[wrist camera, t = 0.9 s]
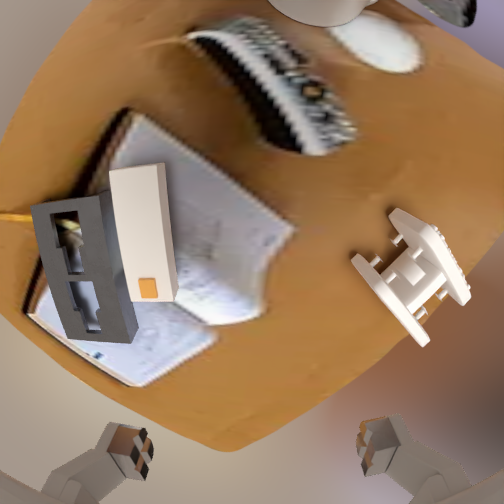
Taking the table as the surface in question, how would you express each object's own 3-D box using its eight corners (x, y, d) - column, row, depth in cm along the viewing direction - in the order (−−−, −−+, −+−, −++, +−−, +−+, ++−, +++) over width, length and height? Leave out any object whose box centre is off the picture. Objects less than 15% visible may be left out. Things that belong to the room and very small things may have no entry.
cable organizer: (341, 251, 41) (372, 291, 30) (393, 200, 38) (439, 224, 27) (392, 309, 45) (424, 352, 34) (437, 266, 42) (478, 300, 32)
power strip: (131, 164, 35) (106, 171, 28) (171, 160, 36) (154, 165, 28) (146, 277, 41) (129, 304, 34) (183, 276, 41) (172, 304, 34)
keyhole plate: (45, 199, 36) (30, 205, 32) (111, 189, 36) (98, 195, 33) (77, 324, 44) (67, 338, 40) (138, 327, 44) (131, 343, 41)
